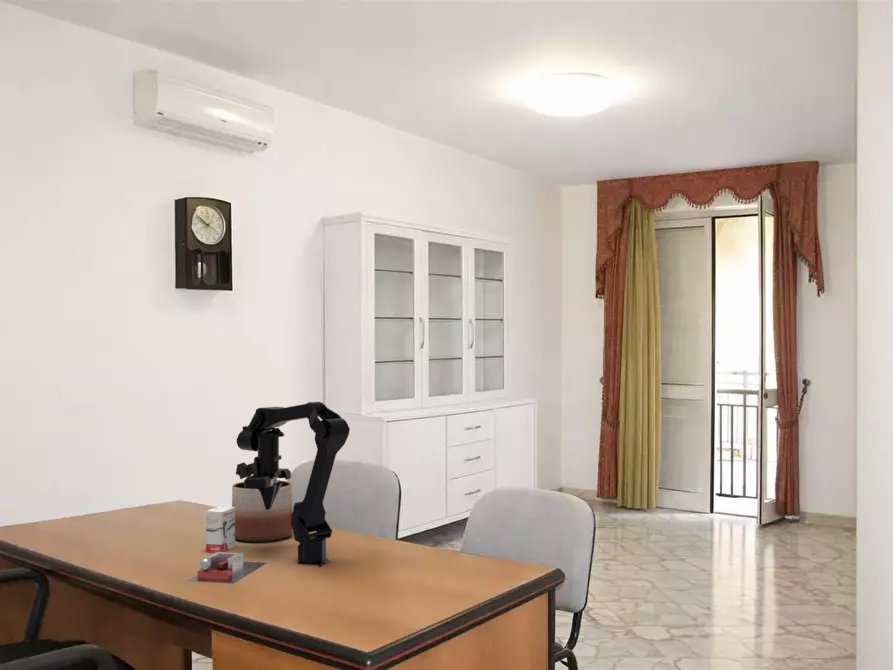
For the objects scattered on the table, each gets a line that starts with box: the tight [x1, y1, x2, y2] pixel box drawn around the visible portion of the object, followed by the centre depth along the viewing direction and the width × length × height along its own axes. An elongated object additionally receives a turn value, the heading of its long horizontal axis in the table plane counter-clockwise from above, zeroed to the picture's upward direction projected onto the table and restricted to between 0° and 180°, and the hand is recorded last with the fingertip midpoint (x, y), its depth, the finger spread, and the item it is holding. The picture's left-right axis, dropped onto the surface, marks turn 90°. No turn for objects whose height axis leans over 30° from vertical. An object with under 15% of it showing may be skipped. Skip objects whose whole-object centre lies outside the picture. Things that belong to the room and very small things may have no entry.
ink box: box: [205, 505, 236, 554], centre depth 237 cm, size 9×5×12 cm, turn 168°
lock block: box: [205, 551, 244, 578], centre depth 210 cm, size 7×6×4 cm
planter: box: [231, 479, 293, 543], centre depth 254 cm, size 18×18×16 cm
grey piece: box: [186, 557, 268, 585], centre depth 212 cm, size 12×20×6 cm, turn 169°
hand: (268, 509), depth 234 cm, fingers closed
